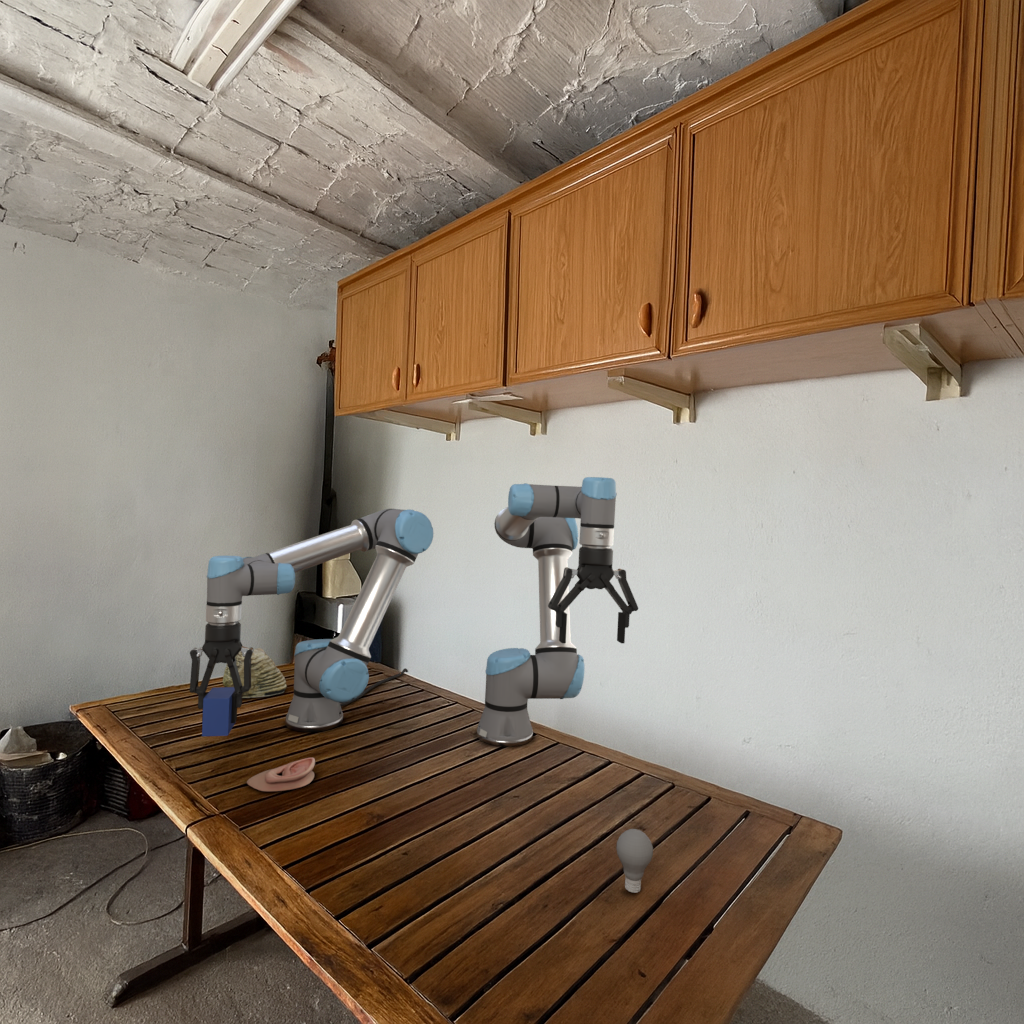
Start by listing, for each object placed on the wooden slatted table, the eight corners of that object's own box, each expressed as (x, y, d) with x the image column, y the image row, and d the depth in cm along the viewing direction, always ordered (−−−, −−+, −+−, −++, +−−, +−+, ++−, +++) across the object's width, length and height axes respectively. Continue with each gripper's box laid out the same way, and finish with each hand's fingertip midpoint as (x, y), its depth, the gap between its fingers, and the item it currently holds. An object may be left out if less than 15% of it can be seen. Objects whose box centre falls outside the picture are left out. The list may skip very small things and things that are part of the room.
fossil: (218, 695, 195) (220, 647, 195) (278, 685, 208) (279, 640, 207) (228, 703, 189) (230, 653, 188) (289, 692, 201) (290, 645, 201)
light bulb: (610, 879, 108) (613, 822, 108) (644, 879, 109) (647, 822, 109) (619, 902, 102) (622, 840, 102) (655, 901, 103) (658, 840, 103)
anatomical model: (238, 769, 136) (269, 749, 147) (238, 787, 136) (269, 766, 147) (295, 777, 133) (322, 756, 144) (294, 796, 133) (321, 773, 144)
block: (211, 723, 151) (212, 687, 151) (235, 722, 152) (237, 687, 152) (201, 736, 143) (203, 698, 143) (227, 735, 144) (229, 698, 144)
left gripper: (175, 625, 142) (171, 728, 142) (263, 625, 146) (259, 725, 146) (184, 619, 149) (181, 717, 149) (268, 619, 153) (264, 714, 153)
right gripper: (545, 546, 134) (541, 646, 135) (655, 549, 139) (651, 645, 140) (537, 543, 142) (533, 638, 142) (642, 547, 147) (637, 638, 147)
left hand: (219, 721), depth 148 cm, fingers closed on block, 5 cm apart
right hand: (591, 642), depth 141 cm, fingers open, 13 cm apart
